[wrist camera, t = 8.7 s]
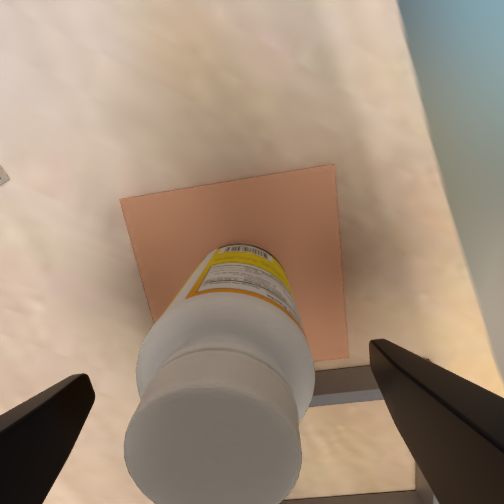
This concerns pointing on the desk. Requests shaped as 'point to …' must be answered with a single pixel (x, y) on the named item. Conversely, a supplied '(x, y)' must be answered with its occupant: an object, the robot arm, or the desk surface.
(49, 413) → the robot arm
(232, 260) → the supplement bottle
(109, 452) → the desk surface
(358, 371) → the square frame
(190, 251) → the pad
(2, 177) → the hard drive
